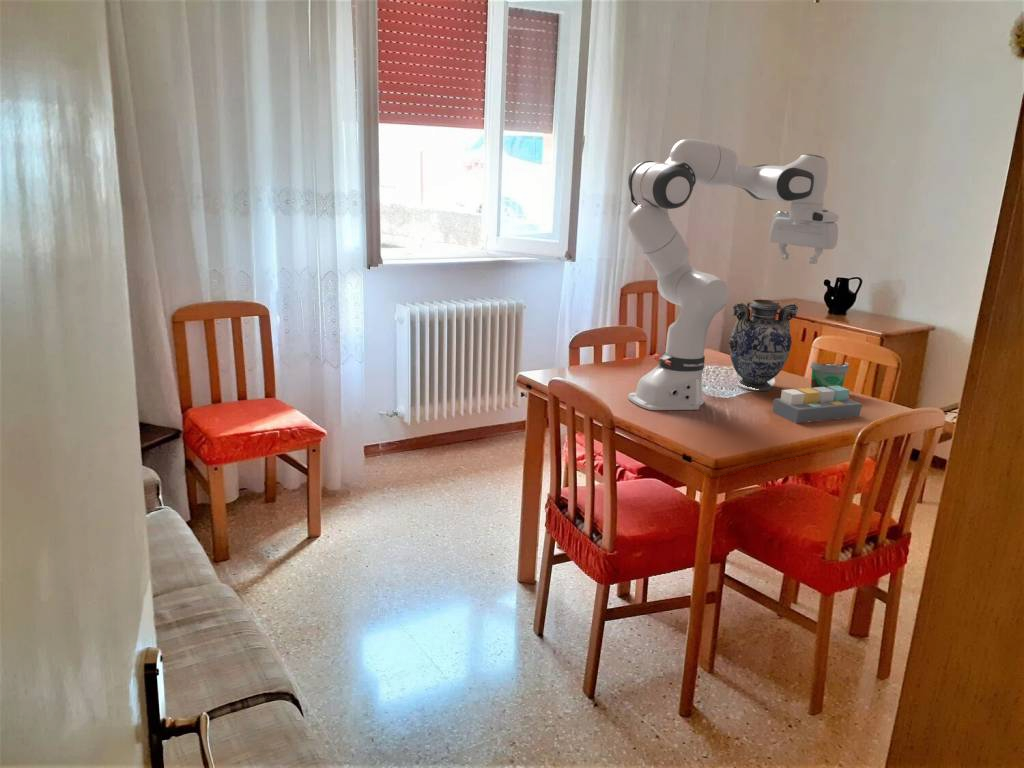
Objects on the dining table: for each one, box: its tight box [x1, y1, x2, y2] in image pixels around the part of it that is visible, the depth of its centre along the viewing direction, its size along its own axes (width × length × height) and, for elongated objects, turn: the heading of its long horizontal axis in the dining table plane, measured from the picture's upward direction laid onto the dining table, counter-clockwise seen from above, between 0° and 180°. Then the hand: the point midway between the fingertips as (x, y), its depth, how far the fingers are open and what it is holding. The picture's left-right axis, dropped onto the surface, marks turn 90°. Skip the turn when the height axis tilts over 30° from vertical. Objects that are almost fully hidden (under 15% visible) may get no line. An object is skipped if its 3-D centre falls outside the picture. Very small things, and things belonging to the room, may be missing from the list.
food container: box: [810, 361, 850, 389], centre depth 236 cm, size 12×6×10 cm, turn 99°
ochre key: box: [796, 387, 820, 404], centre depth 217 cm, size 4×4×4 cm
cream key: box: [780, 388, 805, 405], centre depth 215 cm, size 4×4×4 cm
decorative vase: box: [728, 299, 799, 392], centre depth 239 cm, size 21×19×28 cm
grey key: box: [812, 387, 835, 402], centre depth 219 cm, size 4×4×4 cm
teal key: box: [827, 385, 851, 401], centre depth 221 cm, size 4×4×4 cm
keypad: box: [772, 397, 863, 424], centre depth 217 cm, size 23×10×4 cm, turn 111°
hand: (798, 261), depth 220 cm, fingers open, 8 cm apart
